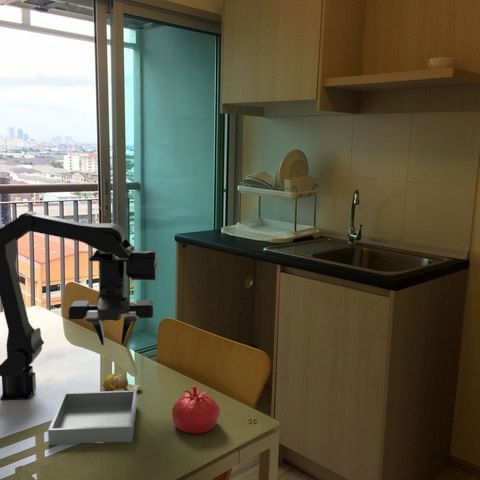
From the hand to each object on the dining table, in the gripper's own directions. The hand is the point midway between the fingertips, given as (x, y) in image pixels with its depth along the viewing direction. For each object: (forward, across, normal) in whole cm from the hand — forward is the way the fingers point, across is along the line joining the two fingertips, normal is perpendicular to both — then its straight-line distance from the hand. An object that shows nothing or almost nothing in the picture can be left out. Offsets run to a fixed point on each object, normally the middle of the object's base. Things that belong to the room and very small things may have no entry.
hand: (112, 344), depth 126 cm
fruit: (+14, +4, +1) cm, 15 cm away
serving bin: (+13, -2, -14) cm, 19 cm away
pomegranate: (+13, +19, -16) cm, 28 cm away
